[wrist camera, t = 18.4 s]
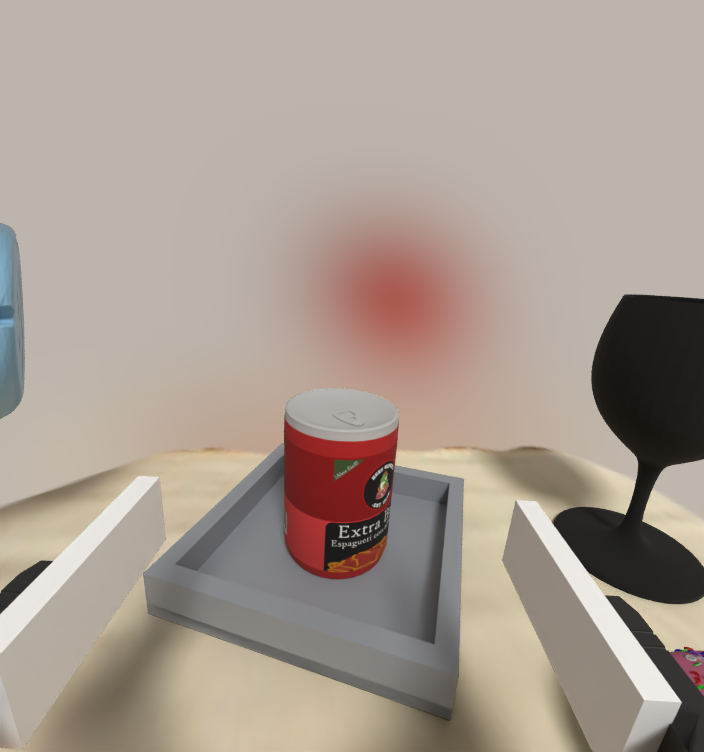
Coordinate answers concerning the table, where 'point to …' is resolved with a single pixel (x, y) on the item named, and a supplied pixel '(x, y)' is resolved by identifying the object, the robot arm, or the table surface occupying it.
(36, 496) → the table surface
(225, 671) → the table surface
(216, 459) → the table surface
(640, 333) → the wine glass
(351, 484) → the canned food
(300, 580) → the tray
